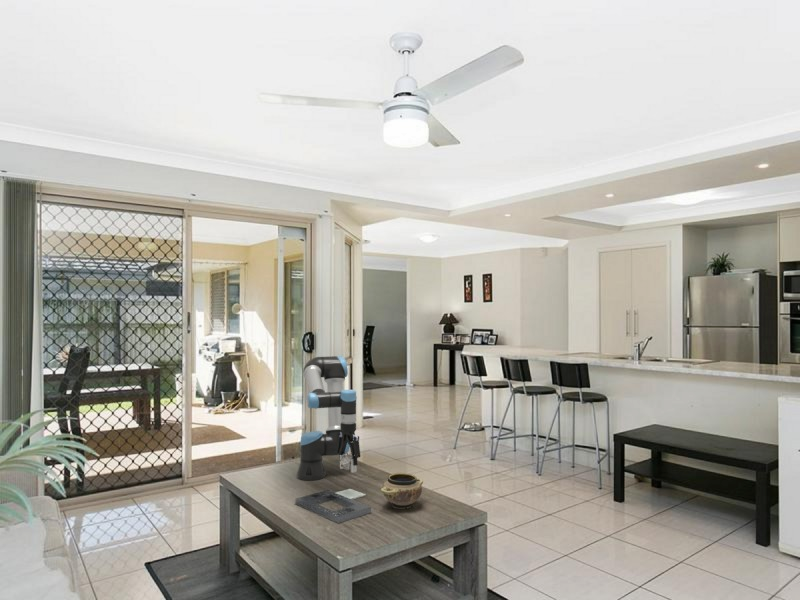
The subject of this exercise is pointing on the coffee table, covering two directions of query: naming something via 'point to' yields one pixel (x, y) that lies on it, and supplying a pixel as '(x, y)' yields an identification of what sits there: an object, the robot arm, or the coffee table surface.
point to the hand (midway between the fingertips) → (348, 470)
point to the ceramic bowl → (402, 489)
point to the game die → (346, 462)
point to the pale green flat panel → (351, 494)
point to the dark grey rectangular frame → (337, 516)
